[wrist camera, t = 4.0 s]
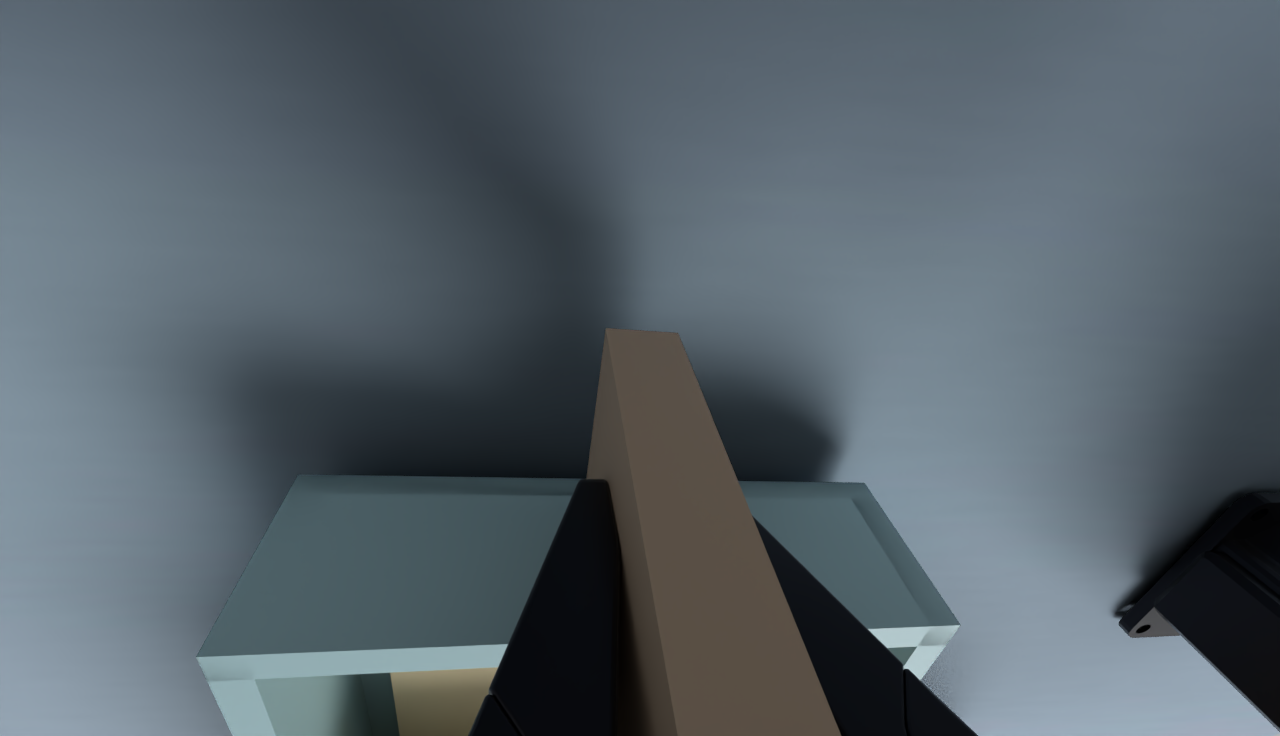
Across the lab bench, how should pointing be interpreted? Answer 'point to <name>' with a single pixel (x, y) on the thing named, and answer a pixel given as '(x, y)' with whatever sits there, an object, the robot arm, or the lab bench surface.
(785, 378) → the lab bench surface
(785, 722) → the tray
